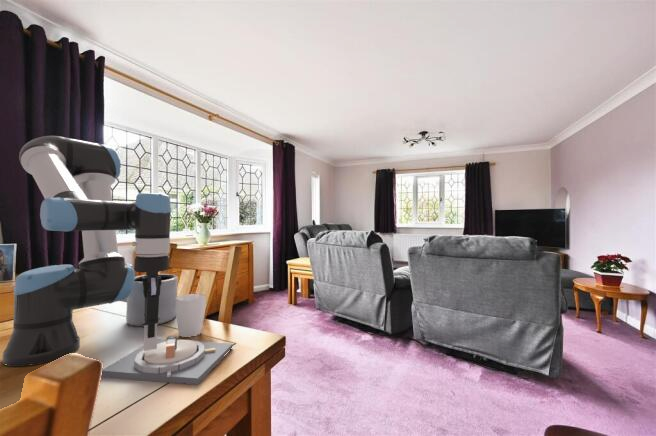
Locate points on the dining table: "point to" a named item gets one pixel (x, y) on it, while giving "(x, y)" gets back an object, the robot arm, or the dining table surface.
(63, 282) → the robot arm
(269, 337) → the dining table surface
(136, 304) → the planter
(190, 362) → the panel
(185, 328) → the cup
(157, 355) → the dial
